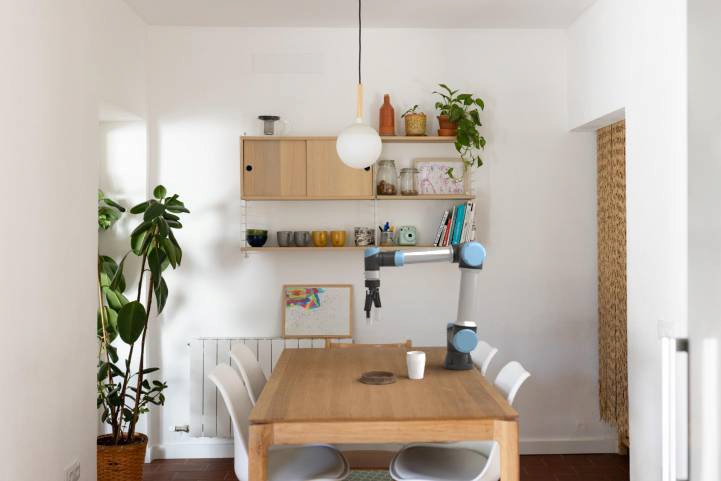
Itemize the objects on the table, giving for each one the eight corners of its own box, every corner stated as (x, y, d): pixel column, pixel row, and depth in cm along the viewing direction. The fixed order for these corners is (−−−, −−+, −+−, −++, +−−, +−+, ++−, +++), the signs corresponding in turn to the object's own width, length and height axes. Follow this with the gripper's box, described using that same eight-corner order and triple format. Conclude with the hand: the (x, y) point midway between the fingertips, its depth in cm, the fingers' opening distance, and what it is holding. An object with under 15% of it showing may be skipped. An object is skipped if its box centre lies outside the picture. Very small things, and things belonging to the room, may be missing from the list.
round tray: (395, 376, 322) (395, 370, 322) (397, 384, 305) (397, 378, 305) (360, 376, 322) (360, 371, 322) (360, 384, 305) (360, 378, 305)
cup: (424, 380, 313) (424, 354, 313) (405, 379, 315) (405, 354, 315) (426, 376, 322) (426, 351, 322) (407, 375, 324) (407, 350, 324)
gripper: (372, 277, 340) (373, 319, 340) (356, 281, 316) (357, 325, 316) (386, 277, 337) (387, 319, 337) (372, 281, 314) (372, 326, 314)
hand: (373, 322), depth 327 cm, fingers open, 13 cm apart
